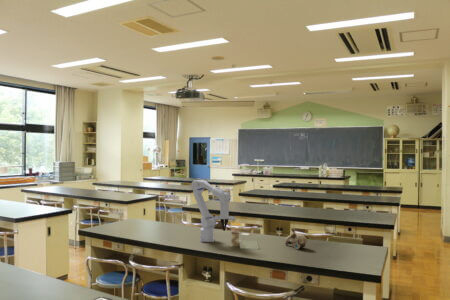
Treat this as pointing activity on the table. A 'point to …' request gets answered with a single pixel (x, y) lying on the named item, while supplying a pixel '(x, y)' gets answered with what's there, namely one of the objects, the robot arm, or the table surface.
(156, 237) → the table surface
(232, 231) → the wooden block
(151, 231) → the table surface
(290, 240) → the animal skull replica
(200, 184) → the robot arm
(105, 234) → the table surface
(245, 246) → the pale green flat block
